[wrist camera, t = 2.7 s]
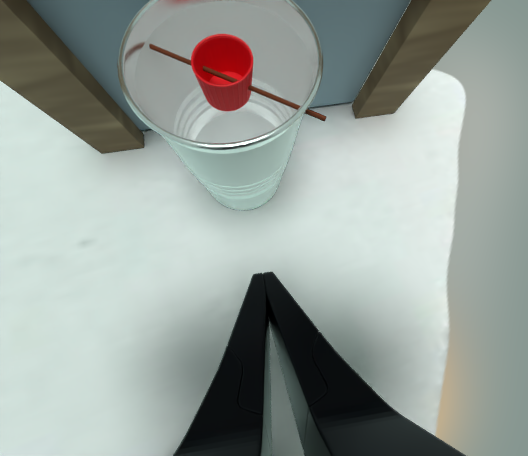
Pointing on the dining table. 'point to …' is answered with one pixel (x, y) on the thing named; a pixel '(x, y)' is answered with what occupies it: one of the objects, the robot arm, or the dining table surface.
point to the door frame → (128, 134)
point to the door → (313, 3)
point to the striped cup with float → (224, 87)
